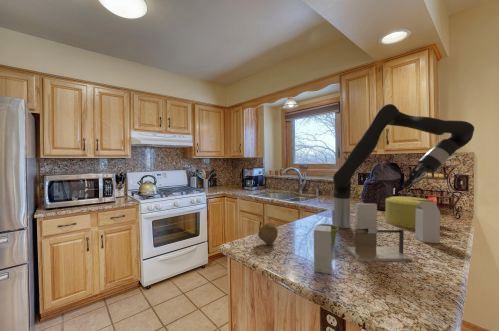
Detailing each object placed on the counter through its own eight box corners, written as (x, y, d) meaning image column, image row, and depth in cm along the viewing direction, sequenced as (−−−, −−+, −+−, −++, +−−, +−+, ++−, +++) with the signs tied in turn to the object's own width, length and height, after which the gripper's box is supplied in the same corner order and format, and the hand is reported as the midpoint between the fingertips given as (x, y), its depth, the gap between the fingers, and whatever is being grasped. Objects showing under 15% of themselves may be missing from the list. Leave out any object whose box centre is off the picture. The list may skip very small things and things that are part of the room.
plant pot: (337, 243, 107) (338, 225, 107) (338, 250, 98) (339, 230, 98) (317, 240, 110) (317, 223, 110) (316, 247, 101) (316, 228, 101)
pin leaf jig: (358, 260, 88) (359, 233, 88) (345, 248, 100) (346, 224, 100) (412, 261, 88) (413, 233, 88) (393, 248, 100) (393, 224, 100)
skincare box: (331, 274, 78) (331, 232, 77) (313, 271, 80) (313, 230, 80) (331, 264, 86) (332, 225, 85) (315, 261, 88) (315, 223, 87)
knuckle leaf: (357, 233, 93) (358, 204, 92) (354, 231, 96) (355, 203, 95) (377, 233, 93) (377, 204, 92) (373, 231, 95) (373, 203, 95)
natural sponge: (255, 246, 103) (255, 224, 103) (261, 240, 111) (261, 220, 111) (275, 249, 100) (275, 227, 99) (279, 242, 108) (279, 221, 108)
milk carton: (439, 243, 107) (440, 203, 106) (422, 242, 108) (423, 203, 108) (430, 238, 114) (431, 200, 113) (415, 237, 115) (415, 200, 115)
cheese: (448, 229, 129) (449, 203, 128) (402, 229, 129) (402, 203, 129) (415, 217, 155) (415, 195, 154) (377, 217, 155) (377, 195, 155)
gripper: (443, 157, 93) (411, 186, 95) (441, 170, 103) (411, 197, 104) (424, 148, 98) (394, 176, 100) (424, 161, 108) (397, 187, 109)
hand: (403, 187), depth 102 cm, fingers closed
